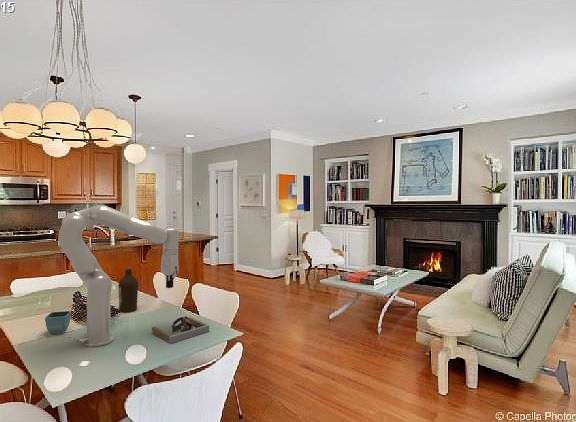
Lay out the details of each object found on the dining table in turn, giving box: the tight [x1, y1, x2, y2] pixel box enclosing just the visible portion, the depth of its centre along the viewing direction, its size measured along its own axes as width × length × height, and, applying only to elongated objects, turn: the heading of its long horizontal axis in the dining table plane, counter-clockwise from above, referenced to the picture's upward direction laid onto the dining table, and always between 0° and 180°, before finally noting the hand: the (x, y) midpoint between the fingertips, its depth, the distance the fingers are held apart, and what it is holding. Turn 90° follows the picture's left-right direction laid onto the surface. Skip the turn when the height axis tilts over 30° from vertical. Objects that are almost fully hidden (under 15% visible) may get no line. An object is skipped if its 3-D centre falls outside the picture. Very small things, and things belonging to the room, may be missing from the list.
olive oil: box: [117, 267, 139, 314], centre depth 202 cm, size 11×11×25 cm
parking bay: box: [151, 316, 210, 344], centre depth 171 cm, size 21×18×3 cm
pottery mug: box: [171, 315, 194, 333], centre depth 173 cm, size 12×10×8 cm
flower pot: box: [44, 310, 72, 335], centre depth 167 cm, size 9×9×9 cm
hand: (169, 287), depth 177 cm, fingers closed
